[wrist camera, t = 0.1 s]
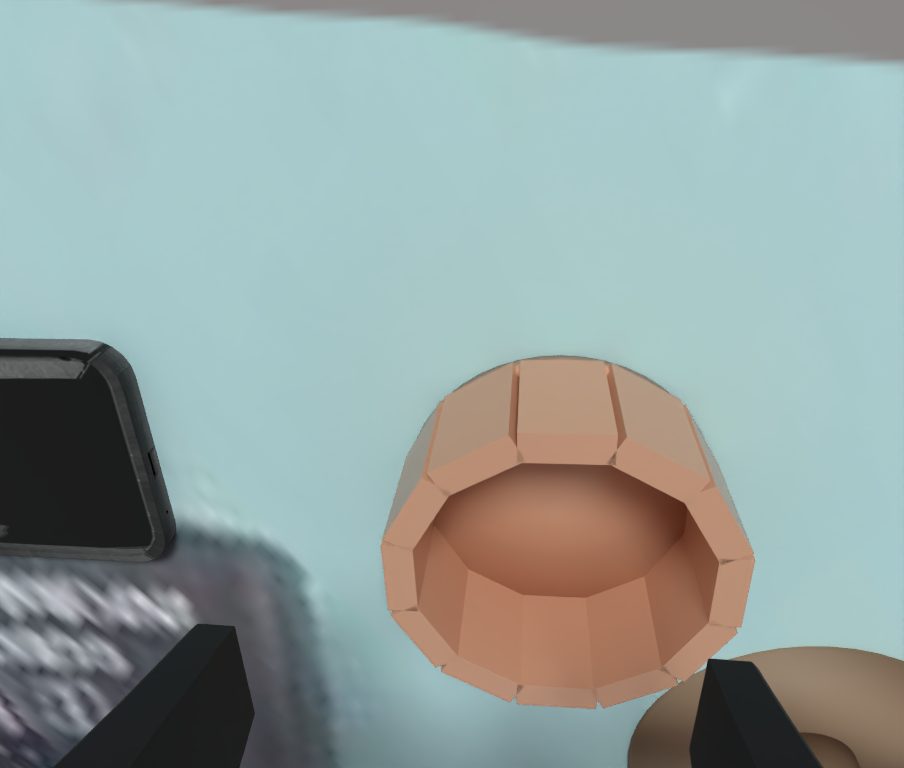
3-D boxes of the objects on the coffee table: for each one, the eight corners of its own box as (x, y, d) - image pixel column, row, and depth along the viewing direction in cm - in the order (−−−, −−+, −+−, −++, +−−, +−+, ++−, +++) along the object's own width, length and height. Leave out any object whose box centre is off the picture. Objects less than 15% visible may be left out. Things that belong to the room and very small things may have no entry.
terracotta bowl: (693, 607, 23) (722, 716, 19) (418, 595, 24) (398, 696, 20) (734, 356, 18) (780, 437, 15) (397, 354, 20) (367, 430, 16)
